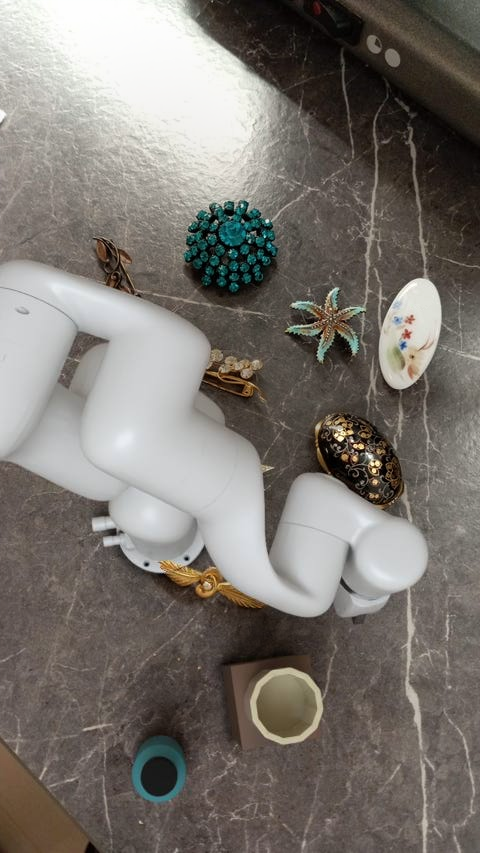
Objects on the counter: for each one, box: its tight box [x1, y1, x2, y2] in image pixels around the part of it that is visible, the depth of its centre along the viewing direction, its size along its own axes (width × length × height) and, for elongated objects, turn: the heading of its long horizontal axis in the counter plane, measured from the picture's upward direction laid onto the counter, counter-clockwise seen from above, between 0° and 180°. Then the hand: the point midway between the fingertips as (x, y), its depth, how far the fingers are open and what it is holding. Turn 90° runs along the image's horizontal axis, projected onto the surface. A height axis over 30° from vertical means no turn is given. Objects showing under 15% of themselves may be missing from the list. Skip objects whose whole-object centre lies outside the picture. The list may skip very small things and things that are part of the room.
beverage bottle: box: [131, 734, 188, 803], centre depth 108 cm, size 6×7×20 cm
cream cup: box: [243, 667, 324, 745], centre depth 95 cm, size 7×7×10 cm
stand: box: [221, 653, 324, 751], centre depth 110 cm, size 9×9×21 cm
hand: (340, 579), depth 117 cm, fingers closed
